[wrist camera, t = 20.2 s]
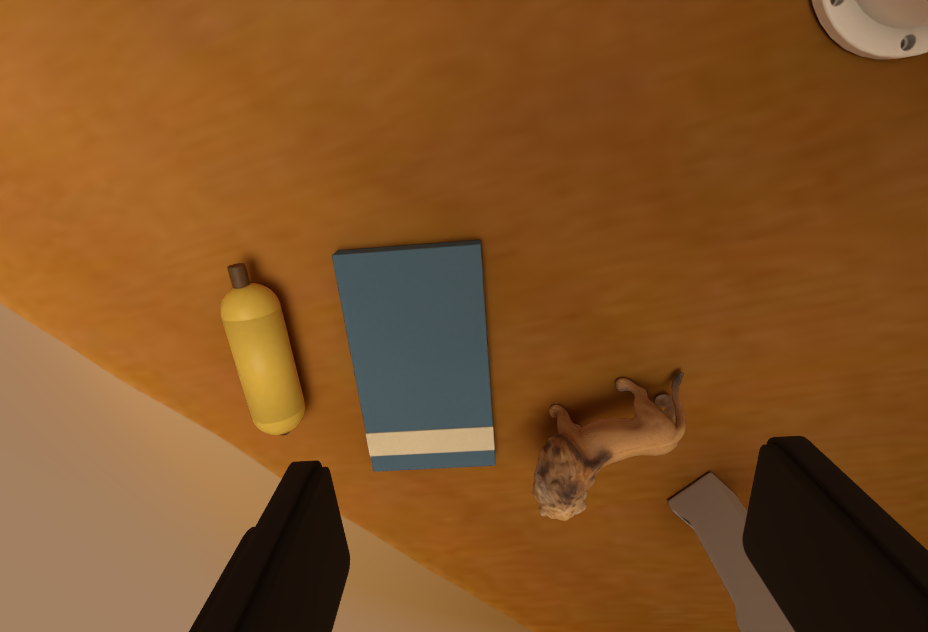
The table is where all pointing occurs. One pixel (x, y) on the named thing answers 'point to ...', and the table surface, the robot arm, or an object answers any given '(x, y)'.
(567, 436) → the lion figurine
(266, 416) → the yellow shampoo bottle
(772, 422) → the table surface
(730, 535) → the vintage mobile phone
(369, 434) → the towel
